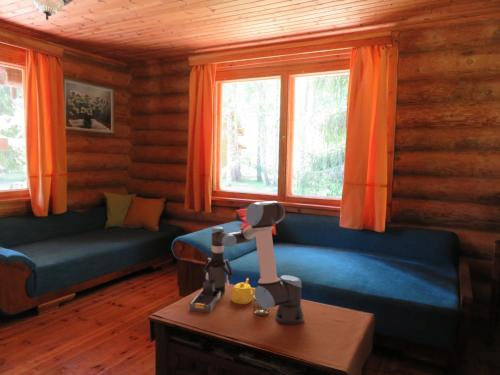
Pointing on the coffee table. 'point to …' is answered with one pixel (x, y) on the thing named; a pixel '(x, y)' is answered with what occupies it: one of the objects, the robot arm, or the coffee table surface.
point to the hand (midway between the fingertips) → (217, 284)
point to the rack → (206, 298)
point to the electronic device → (218, 276)
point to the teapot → (242, 293)
